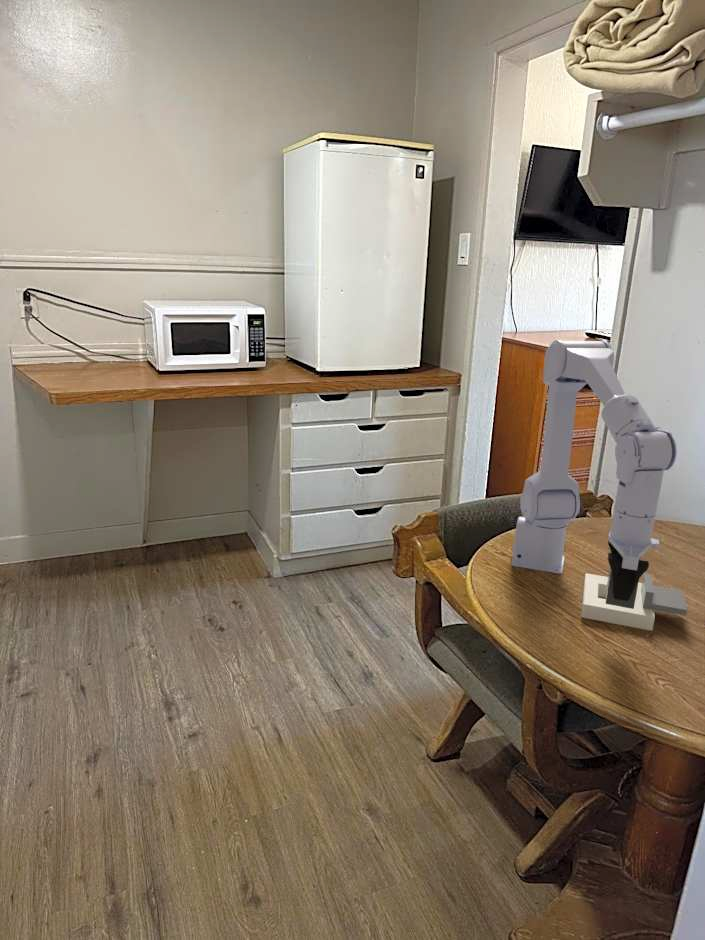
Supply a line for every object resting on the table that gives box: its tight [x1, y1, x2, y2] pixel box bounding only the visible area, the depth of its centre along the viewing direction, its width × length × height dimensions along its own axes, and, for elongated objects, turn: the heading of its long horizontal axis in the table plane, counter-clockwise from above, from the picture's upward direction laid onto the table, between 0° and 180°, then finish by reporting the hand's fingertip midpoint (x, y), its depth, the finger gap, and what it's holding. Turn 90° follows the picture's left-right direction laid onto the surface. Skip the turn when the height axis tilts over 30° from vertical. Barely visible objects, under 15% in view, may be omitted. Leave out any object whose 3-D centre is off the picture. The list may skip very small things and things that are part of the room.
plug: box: [605, 566, 640, 609], centre depth 103 cm, size 4×4×7 cm
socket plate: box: [581, 572, 656, 632], centre depth 116 cm, size 11×12×2 cm
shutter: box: [641, 572, 688, 616], centre depth 113 cm, size 6×7×3 cm
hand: (620, 592), depth 104 cm, fingers closed on plug, 4 cm apart
